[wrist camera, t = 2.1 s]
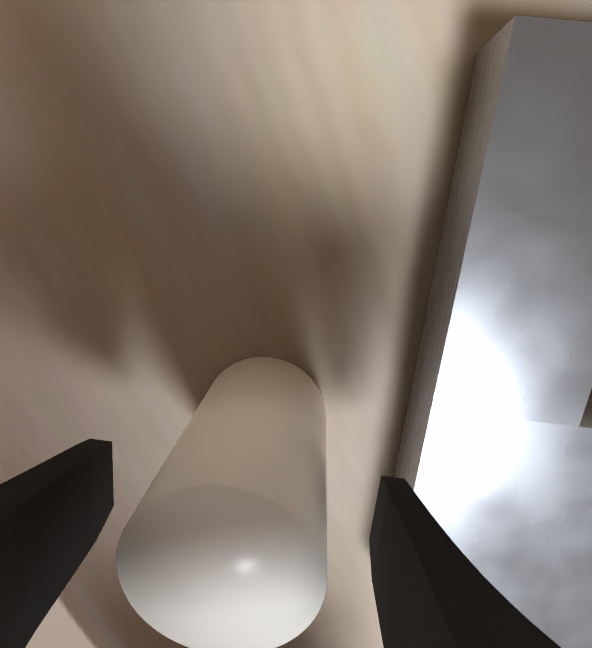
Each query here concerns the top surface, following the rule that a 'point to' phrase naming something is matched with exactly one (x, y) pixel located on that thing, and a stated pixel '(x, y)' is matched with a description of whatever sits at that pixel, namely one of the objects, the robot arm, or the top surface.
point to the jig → (515, 332)
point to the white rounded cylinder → (236, 516)
